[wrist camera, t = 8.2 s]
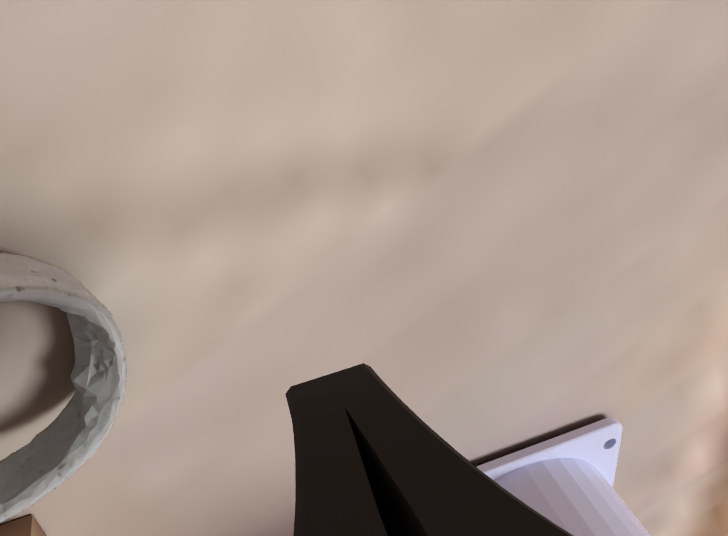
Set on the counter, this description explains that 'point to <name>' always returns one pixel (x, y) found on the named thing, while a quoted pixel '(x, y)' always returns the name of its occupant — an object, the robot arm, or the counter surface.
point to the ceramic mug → (89, 375)
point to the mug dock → (22, 527)
